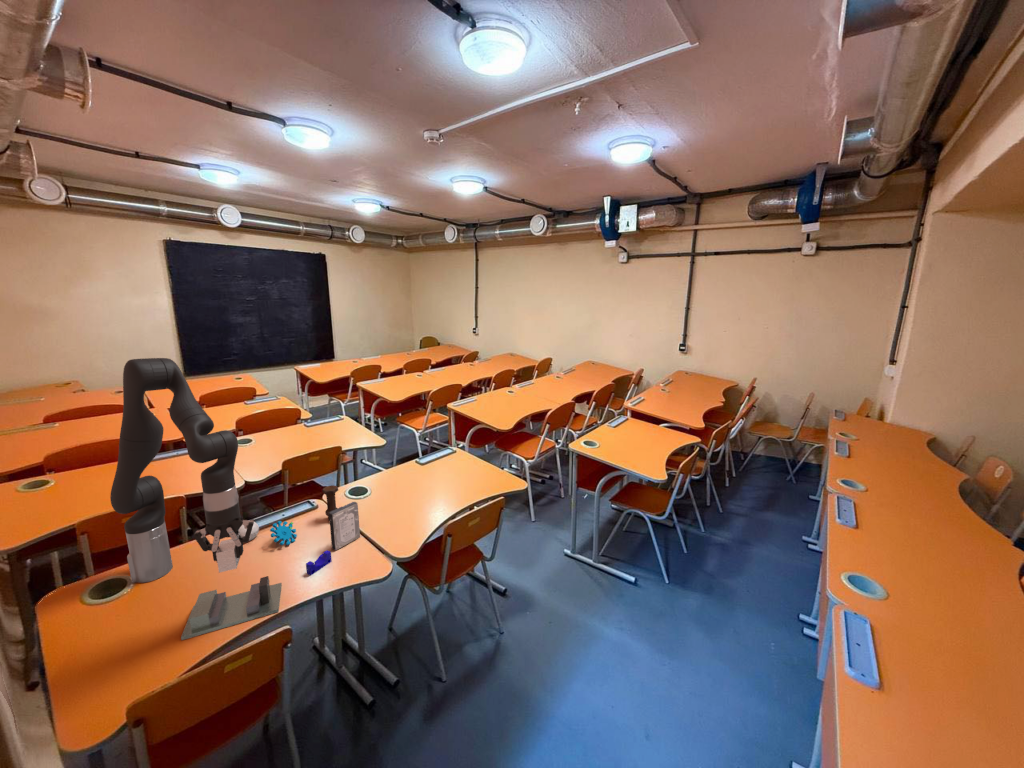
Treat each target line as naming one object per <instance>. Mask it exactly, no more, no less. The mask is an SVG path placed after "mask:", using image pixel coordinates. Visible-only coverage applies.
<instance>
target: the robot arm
mask: <svg viewBox="0 0 1024 768" xmlns="http://www.w3.org/2000/svg"><path fill="white" fill-rule="evenodd" d="M162 390H169V391H170V392H172V393H173V397H172V400H171V402H170V406H169V417H170V419H171V422H173V424H174V425H175V427H176V428H177V429H178V431H180V433H181V434H182V437H183V439H184V442H185V444H186V451H187V455H188V457H189V458H190V460H192V461H193V462H194V463H198V464H206V463H209V462H212V461H215V462H214V464H212V465H210V466H208V467H207V468H205V469H204V470H203V471H202V472H201V473H200V481H201V489H202V502H203V503H202V504H203V510H204V517H205V523H206V526H205V527H204V528H202V529H201V528H198V529H196V530H195V532H194V534H193V539H194V540H195V541H196V542H197V544H198V545H199V547H200V548H201V550H202V551H203V552H208V551H210V552H212V557H213V559H212V560H213V561H214V562H217V556H216V552H217V550H218V547H219V545H220V542H221V540H222V539H225V538H230V539H232V540H233V541H234V542H235V544H236V554H237V558H240V559H241V556H243V553H244V544H246V543H248V542H249V538H250V534H251V531H252V527H253V524H254V522H255V519H254V518H251V519H249V520H247V519H243V517H242V516H241V511H240V510H241V509H240V501H239V499H240V497H239V494H238V493H239V492H238V489H237V487H236V480H235V473H234V472H235V471H234V470H235V464H236V459H237V454H238V450H239V441H238V438H237V436H236V434H235V433H233V432H232V431H230V430H219V431H215V432H212V431H213V429H214V427H215V424H214V421H213V419H212V418H211V417H210V415H209V414H208V413H207V412H206V410H204V409H203V408H202V406H201V405H200V403H199V402H198V401H197V399H196V397H195V395H194V394H193V392H192V390H191V387H190V386H189V384H188V381H187V380H186V377H185V376H184V374H183V372H182V370H181V369H180V367H179V365H178V364H177V363H176V362H175V361H174V360H173V359H171V358H167V357H166V358H165V357H150V358H149V357H148V358H146V357H145V358H132V359H129V360H127V361H126V363H125V365H124V366H123V372H122V392H123V393H122V396H123V397H122V398H123V406H122V407H123V408H122V419H121V426H120V433H119V439H118V440H119V443H118V456H117V465H116V470H115V472H114V473H115V475H114V479H113V481H112V485H111V489H110V505H111V507H112V509H113V510H114V511H115V512H116V513H117V514H119V515H127V514H131V513H134V514H133V515H132V516H131V517H129V518H128V519H127V520H126V521H125V522H124V533H125V536H126V537H125V538H126V541H127V547H128V551H129V553H128V554H127V556H126V560H127V565H128V570H129V575H130V579H131V583H132V584H133V583H134V584H135V583H143V584H144V583H148V582H153V581H155V580H158V579H160V578H162V577H164V576H166V575H168V573H170V572H171V571H172V569H173V568H174V567H173V560H172V554H171V549H170V547H171V546H170V542H169V537H168V532H167V531H168V530H167V526H166V521H165V517H166V506H165V505H166V504H165V493H164V489H163V488H164V487H163V485H162V483H161V481H160V480H159V479H158V478H157V477H156V476H153V475H145V476H141V475H142V474H143V472H144V471H145V469H147V467H148V466H149V465H150V464H151V462H152V461H154V458H156V456H157V455H158V454H159V452H160V450H161V448H162V444H163V438H164V426H163V424H162V422H161V420H159V418H158V417H157V416H156V415H155V414H154V413H153V412H152V411H151V410H150V408H149V407H148V406H147V405H146V402H145V393H146V392H151V391H162ZM211 432H212V433H211ZM242 525H244V528H245V529H247V531H246V534H245V536H244V537H241V535H240V532H239V528H240V527H241V526H242ZM207 534H209V535H210V536H212V537H213V539H212V543H211V542H210V540H209V538H207V536H206V535H207Z"/></svg>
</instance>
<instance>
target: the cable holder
mask: <svg viewBox="0 0 1024 768" xmlns="http://www.w3.org/2000/svg"><path fill="white" fill-rule="evenodd" d="M332 560H333V559H332V552H331V551H330V550H325V551H323V552H322V553H321V554H320V555H319V556H318V557H317V559H316V560H314V562H313V561H311V560H309V561H308V562H306V563H305V569H306V575H309V576H313V575H314V574H315V573H317V572H318V571H320V570H321V569H323V568H325V567H326V566H328V565H329V564H330V563H332V562H333V561H332Z"/></svg>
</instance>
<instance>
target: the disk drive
mask: <svg viewBox="0 0 1024 768" xmlns="http://www.w3.org/2000/svg"><path fill="white" fill-rule="evenodd" d="M337 508H338V509H335V510H333V511H331V512H329V521H328V522H329V528H330V541H331V542H330V543H331V549H332V550H334V551H337V550H339V549H341V548H342V547H344V546H347V545H349V544H350V543H352V542H354V541H355V540H357V539H359V538H360V537H361V532H360V531H361V530H360V518H359V517H360V515H359V504H358V502H356V501H351V502H349V503H347V504H345V505H343V506H339V507H337Z"/></svg>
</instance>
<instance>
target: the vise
mask: <svg viewBox="0 0 1024 768" xmlns="http://www.w3.org/2000/svg"><path fill="white" fill-rule="evenodd" d="M269 585H270V584H269ZM282 586H283V585H282V582H277V583H275V584H274V583H273V584H271V585H270V599H269V602H268V603H265V604H261V607H260V612H257V613H254V614H250V615H247V611H246V606H247V602H248V597H249V593H250V590H248V591H245V592H241V593H237V594H236V593H235V594H233V595H230V596H227V592H226V591H224V592H220V593H218V591H217V589H214V590H210V591H206V592H201V593H199V594H198V597H197V599H196V602H195V604H194V605H193V607H192V610H191V611H190V614H189V616H188V618H187V622H186V624H185V626H184V628H183V631H182V634H181V637H180V640H181V641H184V640H188V639H191V638H195V637H198V636H202V635H204V634H208V633H212V632H215V631H219V630H223V629H225V628H228V627H232V626H235V625H239V624H242V623H246V622H250V621H253V620H256V619H259V618H262V617H266V616H269V615H273V614H276V613H279V612H280V611H279V609H280V604H281V601H280V600H281V594H282Z"/></svg>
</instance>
